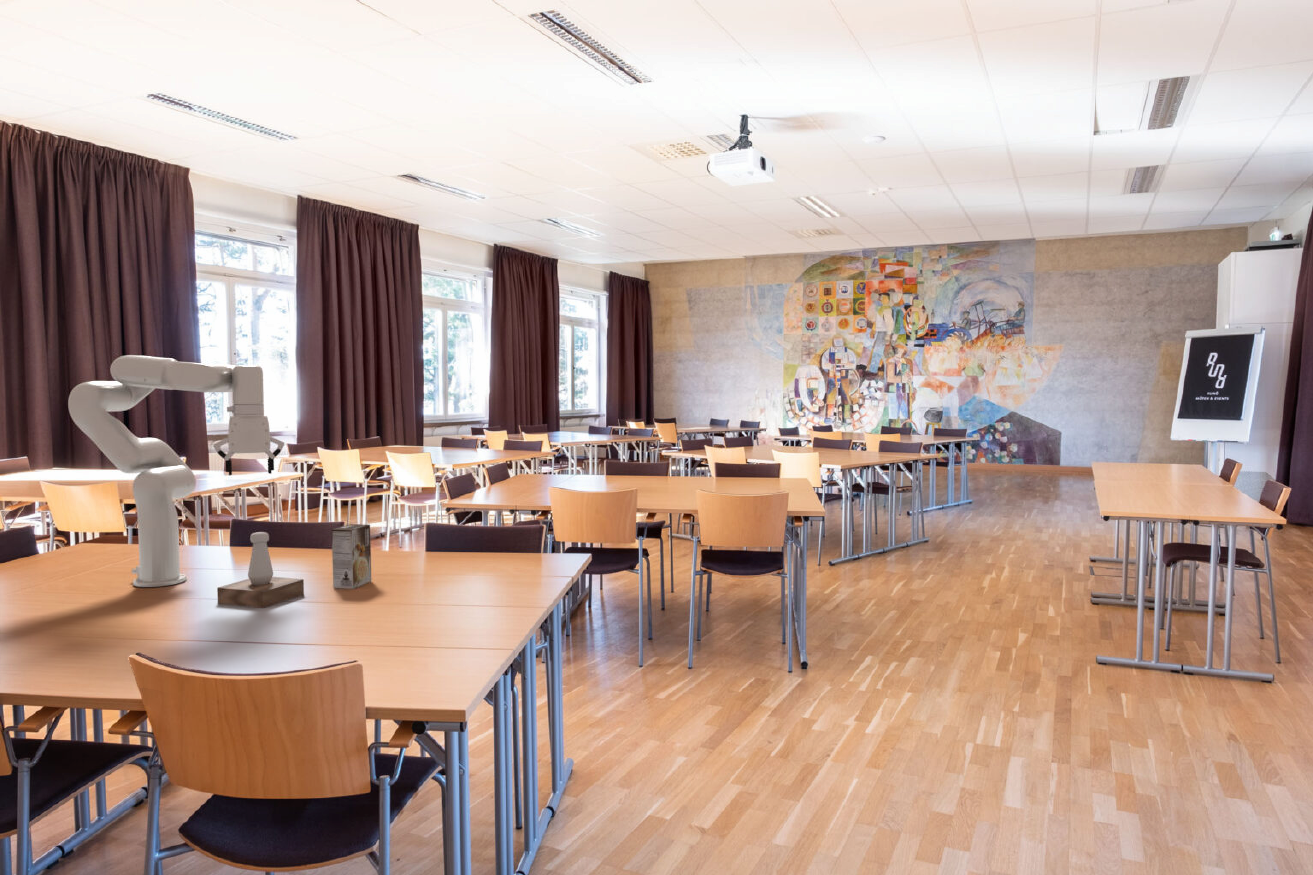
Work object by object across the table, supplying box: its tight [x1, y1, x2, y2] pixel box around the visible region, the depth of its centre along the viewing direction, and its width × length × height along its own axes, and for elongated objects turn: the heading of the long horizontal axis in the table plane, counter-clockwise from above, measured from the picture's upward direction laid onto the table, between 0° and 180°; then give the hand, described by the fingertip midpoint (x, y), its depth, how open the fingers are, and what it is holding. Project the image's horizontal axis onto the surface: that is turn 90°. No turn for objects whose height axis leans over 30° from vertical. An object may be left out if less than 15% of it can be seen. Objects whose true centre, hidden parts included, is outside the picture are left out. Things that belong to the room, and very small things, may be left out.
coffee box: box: [331, 523, 373, 590], centre depth 226 cm, size 9×6×16 cm
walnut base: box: [216, 576, 305, 609], centre depth 211 cm, size 14×14×4 cm
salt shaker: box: [247, 531, 274, 585], centre depth 210 cm, size 6×6×13 cm
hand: (250, 474), depth 225 cm, fingers open, 9 cm apart
